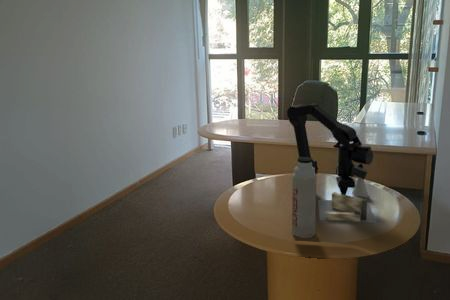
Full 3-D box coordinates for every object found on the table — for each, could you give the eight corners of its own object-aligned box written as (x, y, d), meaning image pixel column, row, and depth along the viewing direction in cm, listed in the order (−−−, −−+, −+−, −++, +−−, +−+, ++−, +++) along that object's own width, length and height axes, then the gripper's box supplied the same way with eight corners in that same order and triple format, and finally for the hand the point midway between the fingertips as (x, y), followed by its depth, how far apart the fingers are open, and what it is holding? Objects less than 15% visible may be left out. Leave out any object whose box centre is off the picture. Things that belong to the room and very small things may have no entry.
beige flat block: (363, 214, 153) (363, 199, 151) (360, 216, 152) (361, 201, 150) (333, 206, 162) (334, 192, 160) (331, 207, 160) (331, 193, 159)
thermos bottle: (295, 241, 137) (296, 162, 130) (289, 230, 145) (290, 155, 138) (317, 239, 138) (320, 161, 131) (311, 229, 146) (313, 154, 138)
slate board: (319, 222, 151) (319, 219, 150) (317, 201, 170) (318, 199, 169) (375, 225, 147) (376, 222, 147) (367, 203, 166) (367, 201, 166)
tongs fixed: (365, 217, 151) (366, 200, 149) (367, 221, 148) (368, 203, 146) (324, 215, 154) (325, 198, 152) (325, 219, 151) (325, 202, 149)
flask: (366, 192, 178) (367, 171, 175) (370, 199, 171) (371, 176, 168) (349, 192, 179) (350, 171, 176) (352, 198, 172) (354, 176, 169)
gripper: (370, 167, 149) (367, 206, 154) (363, 153, 167) (361, 189, 171) (339, 166, 152) (337, 205, 156) (335, 153, 169) (334, 188, 173)
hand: (343, 196), depth 164 cm, fingers closed
